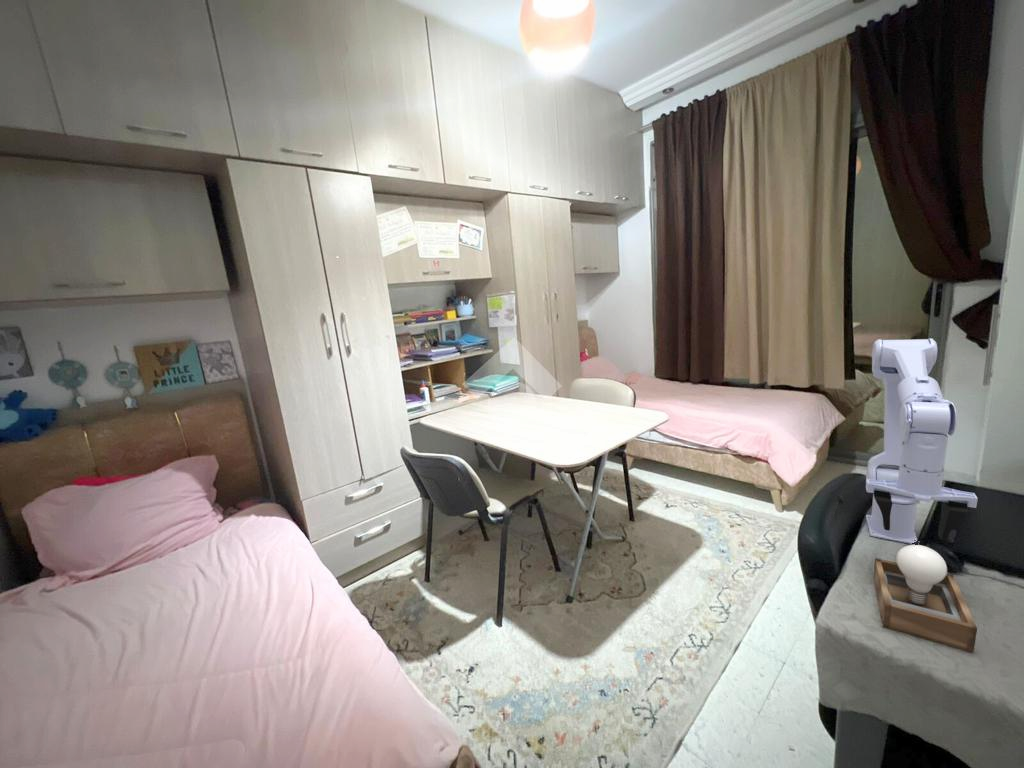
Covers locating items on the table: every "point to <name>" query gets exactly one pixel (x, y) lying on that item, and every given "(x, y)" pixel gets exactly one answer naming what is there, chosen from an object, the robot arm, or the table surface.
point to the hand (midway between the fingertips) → (913, 532)
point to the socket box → (924, 609)
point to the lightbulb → (920, 571)
